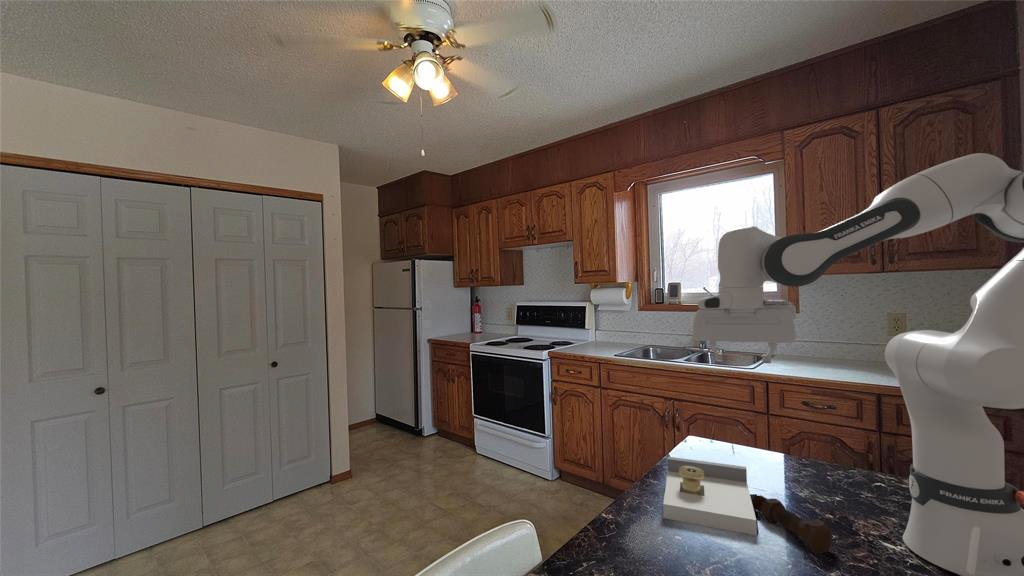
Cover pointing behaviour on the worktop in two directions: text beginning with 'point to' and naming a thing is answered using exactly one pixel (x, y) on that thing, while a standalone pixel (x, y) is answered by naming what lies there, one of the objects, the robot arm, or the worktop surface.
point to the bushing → (691, 479)
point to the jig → (711, 497)
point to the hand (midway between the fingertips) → (742, 361)
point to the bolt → (795, 524)
